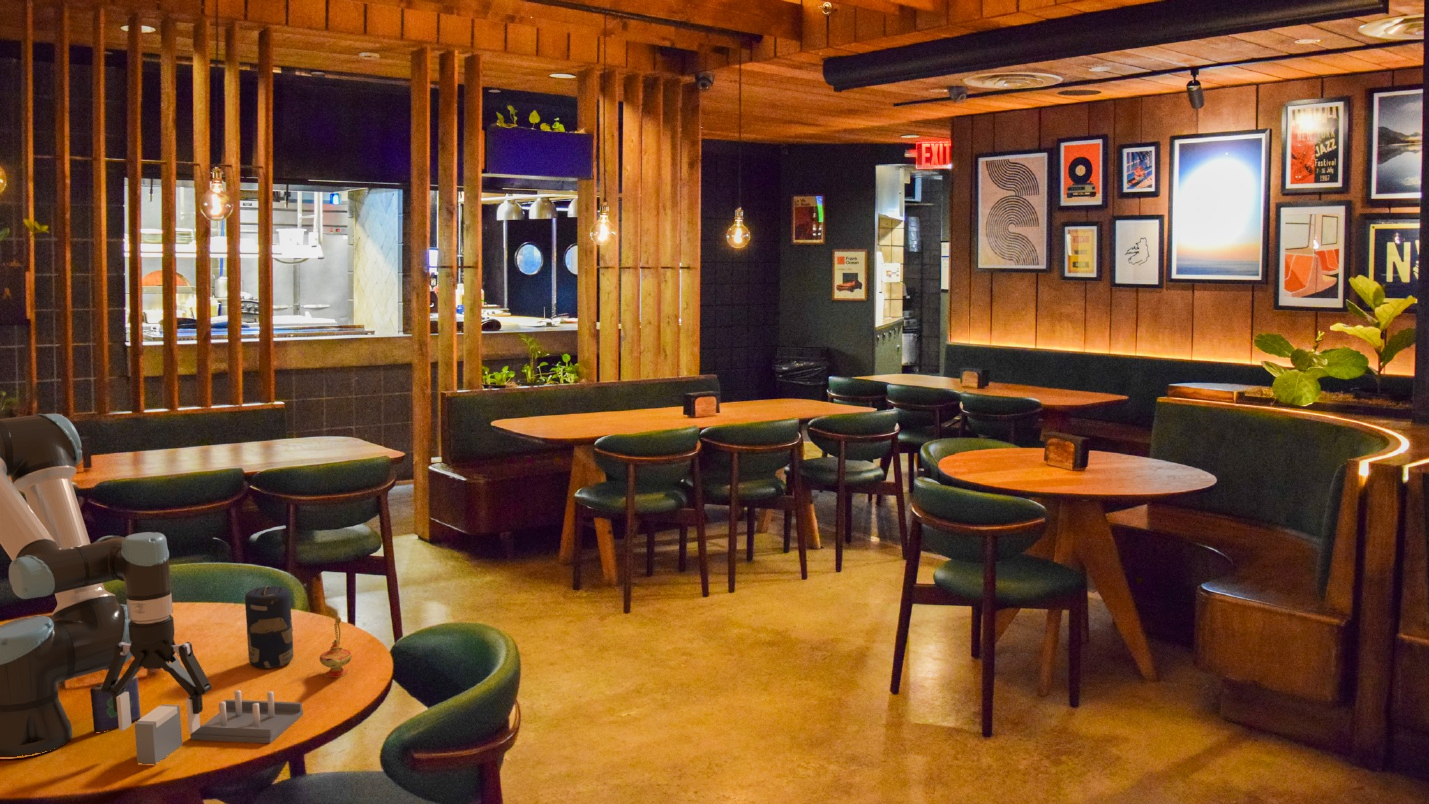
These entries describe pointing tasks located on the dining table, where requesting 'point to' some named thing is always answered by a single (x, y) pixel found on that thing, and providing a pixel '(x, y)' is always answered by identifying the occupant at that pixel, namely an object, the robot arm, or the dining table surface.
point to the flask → (104, 707)
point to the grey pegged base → (249, 720)
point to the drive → (158, 734)
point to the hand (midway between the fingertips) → (159, 729)
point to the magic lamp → (336, 656)
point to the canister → (269, 626)
